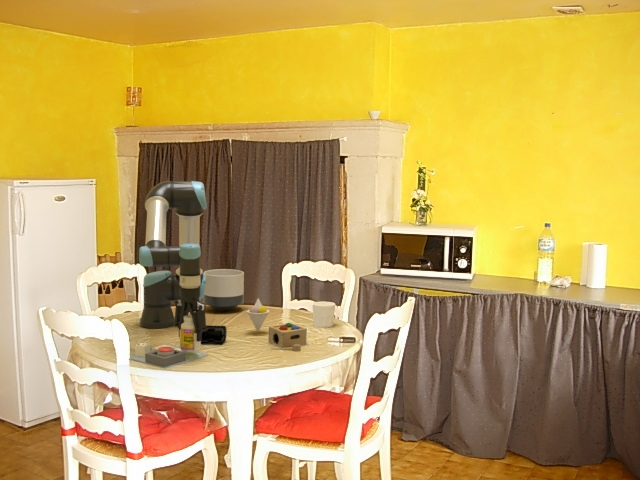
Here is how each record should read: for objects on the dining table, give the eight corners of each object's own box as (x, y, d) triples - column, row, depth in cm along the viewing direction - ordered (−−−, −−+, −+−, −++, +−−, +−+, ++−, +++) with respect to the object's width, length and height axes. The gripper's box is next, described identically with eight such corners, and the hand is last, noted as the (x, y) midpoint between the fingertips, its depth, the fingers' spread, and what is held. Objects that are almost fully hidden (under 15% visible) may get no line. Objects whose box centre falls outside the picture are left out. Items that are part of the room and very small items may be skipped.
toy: (265, 336, 288) (266, 300, 286) (243, 334, 289) (244, 299, 288) (271, 331, 297) (272, 296, 295) (250, 329, 299) (250, 295, 297)
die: (135, 355, 254) (135, 344, 254) (141, 353, 258) (141, 342, 258) (144, 357, 253) (144, 346, 253) (150, 354, 257) (150, 343, 256)
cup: (308, 327, 305) (308, 304, 304) (317, 322, 314) (317, 300, 313) (329, 329, 301) (330, 307, 300) (337, 324, 311) (338, 302, 309)
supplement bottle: (180, 353, 253) (180, 318, 251) (180, 348, 259) (180, 314, 258) (199, 352, 254) (199, 318, 253) (198, 347, 261) (198, 314, 259)
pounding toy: (256, 347, 273) (256, 326, 272) (287, 338, 286) (287, 319, 285) (289, 356, 261) (289, 335, 260) (320, 347, 274) (320, 327, 273)
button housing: (145, 361, 248) (145, 353, 247) (166, 355, 256) (166, 347, 255) (164, 367, 242) (164, 358, 242) (185, 360, 250) (185, 352, 250)
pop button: (153, 360, 248) (153, 348, 248) (166, 356, 253) (166, 345, 252) (165, 363, 245) (165, 351, 244) (177, 359, 249) (177, 348, 249)
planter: (248, 305, 345) (249, 270, 343) (235, 314, 326) (235, 276, 324) (212, 303, 349) (212, 268, 347) (197, 311, 331) (197, 274, 329)
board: (123, 358, 254) (123, 355, 253) (167, 345, 271) (167, 343, 271) (165, 369, 241) (165, 367, 241) (208, 356, 258) (208, 354, 258)
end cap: (226, 340, 280) (226, 324, 280) (223, 345, 273) (223, 328, 272) (202, 339, 281) (202, 323, 280) (198, 344, 274) (198, 327, 273)
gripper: (163, 284, 257) (164, 345, 259) (202, 291, 245) (202, 354, 248) (178, 281, 263) (179, 341, 266) (216, 288, 252) (216, 350, 254)
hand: (190, 347), depth 257 cm, fingers closed on supplement bottle, 7 cm apart
